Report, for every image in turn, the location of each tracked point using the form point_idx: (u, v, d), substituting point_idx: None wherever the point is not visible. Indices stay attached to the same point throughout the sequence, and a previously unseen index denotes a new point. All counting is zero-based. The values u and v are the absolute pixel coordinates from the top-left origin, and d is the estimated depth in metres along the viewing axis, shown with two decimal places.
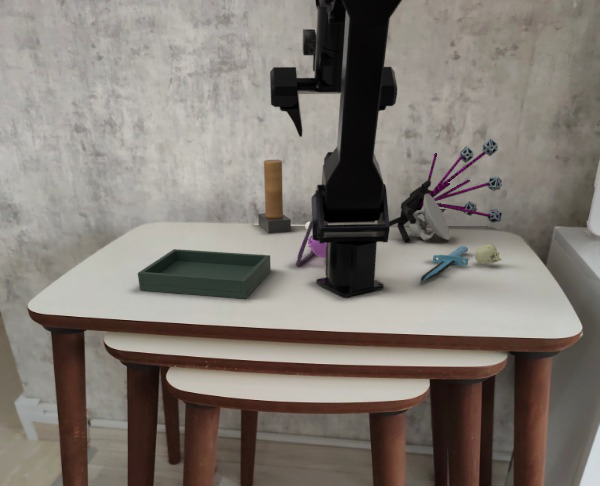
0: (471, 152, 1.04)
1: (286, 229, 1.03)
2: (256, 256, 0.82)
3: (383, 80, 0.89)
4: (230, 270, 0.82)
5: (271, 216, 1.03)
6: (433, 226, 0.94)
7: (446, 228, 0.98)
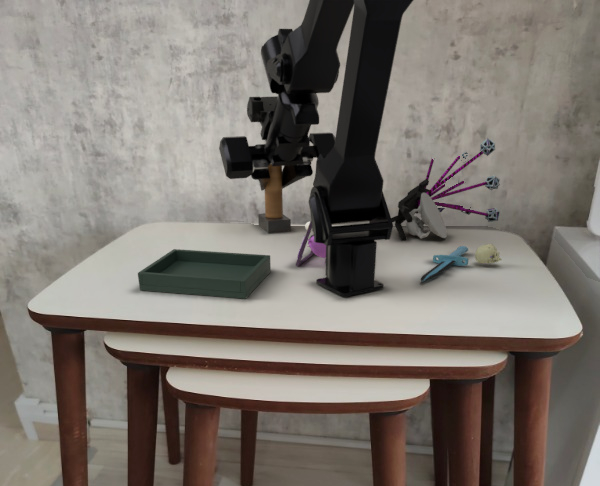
0: None
1: (286, 229, 1.03)
2: (256, 256, 0.82)
3: (328, 150, 0.95)
4: (230, 270, 0.82)
5: (271, 216, 1.03)
6: (429, 224, 0.95)
7: (443, 227, 0.99)
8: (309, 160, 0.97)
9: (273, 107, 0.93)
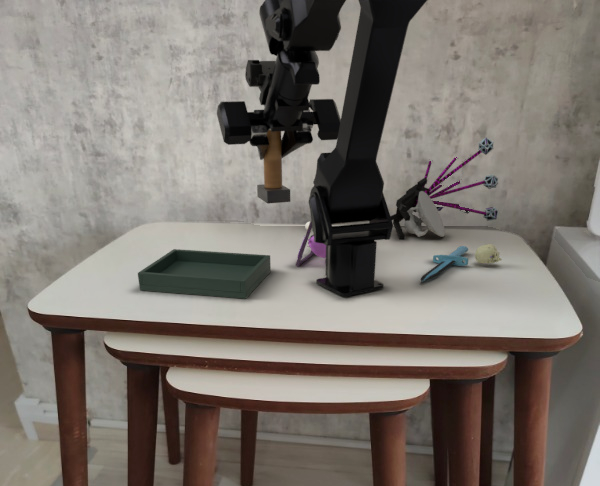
0: None
1: (285, 199, 1.00)
2: (256, 256, 0.82)
3: (329, 116, 0.93)
4: (230, 270, 0.82)
5: (270, 186, 1.00)
6: (427, 223, 0.96)
7: (441, 225, 0.99)
8: (309, 127, 0.94)
9: (272, 71, 0.90)
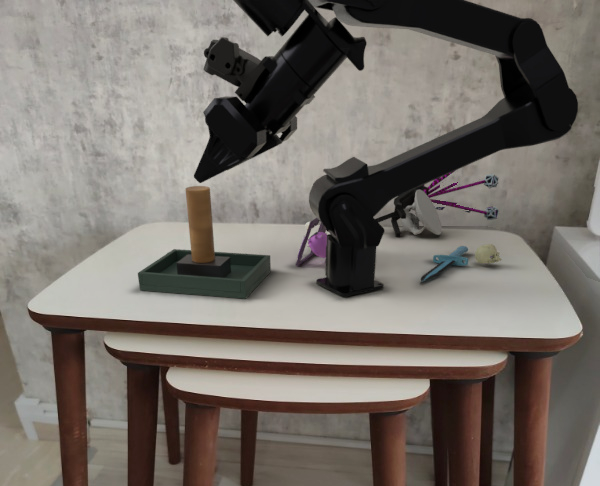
0: None
1: (229, 270, 0.80)
2: (256, 256, 0.82)
3: None
4: None
5: (210, 259, 0.78)
6: (423, 221, 0.97)
7: (438, 223, 1.00)
8: None
9: (241, 53, 0.66)
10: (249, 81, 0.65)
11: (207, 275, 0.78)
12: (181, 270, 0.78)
